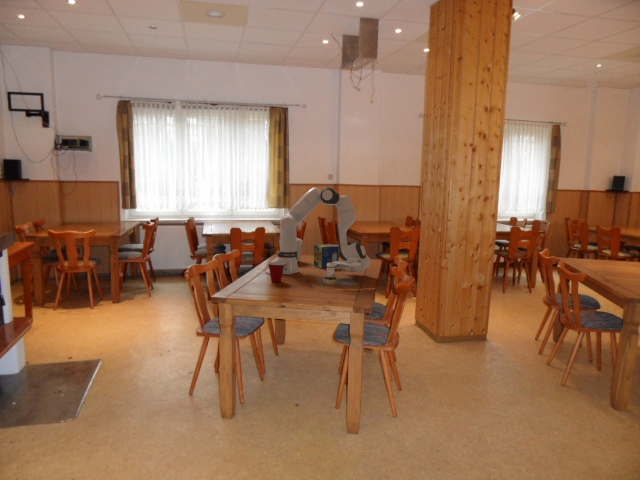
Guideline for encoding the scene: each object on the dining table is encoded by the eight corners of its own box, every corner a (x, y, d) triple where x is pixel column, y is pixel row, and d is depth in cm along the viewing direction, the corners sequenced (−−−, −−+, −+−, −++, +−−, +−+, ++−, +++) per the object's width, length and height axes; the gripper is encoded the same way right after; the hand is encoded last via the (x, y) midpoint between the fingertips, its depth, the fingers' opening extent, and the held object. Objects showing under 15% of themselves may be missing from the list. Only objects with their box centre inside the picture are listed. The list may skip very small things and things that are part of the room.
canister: (295, 265, 332) (296, 236, 330) (274, 262, 340) (274, 234, 337) (306, 261, 349) (307, 234, 346) (286, 259, 356) (286, 232, 353)
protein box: (313, 266, 330) (313, 245, 327) (330, 264, 338) (331, 243, 336) (321, 268, 321) (321, 247, 319) (338, 266, 329) (339, 245, 327)
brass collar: (323, 285, 267) (323, 280, 266) (321, 281, 276) (321, 276, 276) (339, 284, 268) (339, 279, 268) (336, 281, 278) (336, 276, 277)
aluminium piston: (326, 284, 269) (327, 264, 268) (325, 282, 274) (325, 262, 273) (335, 284, 270) (335, 264, 269) (333, 282, 275) (334, 262, 274)
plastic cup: (288, 281, 280) (289, 262, 278) (277, 284, 271) (277, 264, 269) (275, 278, 286) (275, 260, 284) (263, 282, 277) (263, 262, 275)
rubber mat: (320, 287, 266) (320, 285, 265) (315, 280, 282) (315, 279, 282) (358, 286, 269) (358, 284, 269) (351, 280, 286) (351, 278, 286)
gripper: (339, 258, 294) (325, 260, 283) (365, 262, 280) (351, 265, 270) (339, 267, 294) (325, 270, 284) (364, 272, 281) (351, 275, 271)
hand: (338, 268), depth 277 cm, fingers open, 8 cm apart
